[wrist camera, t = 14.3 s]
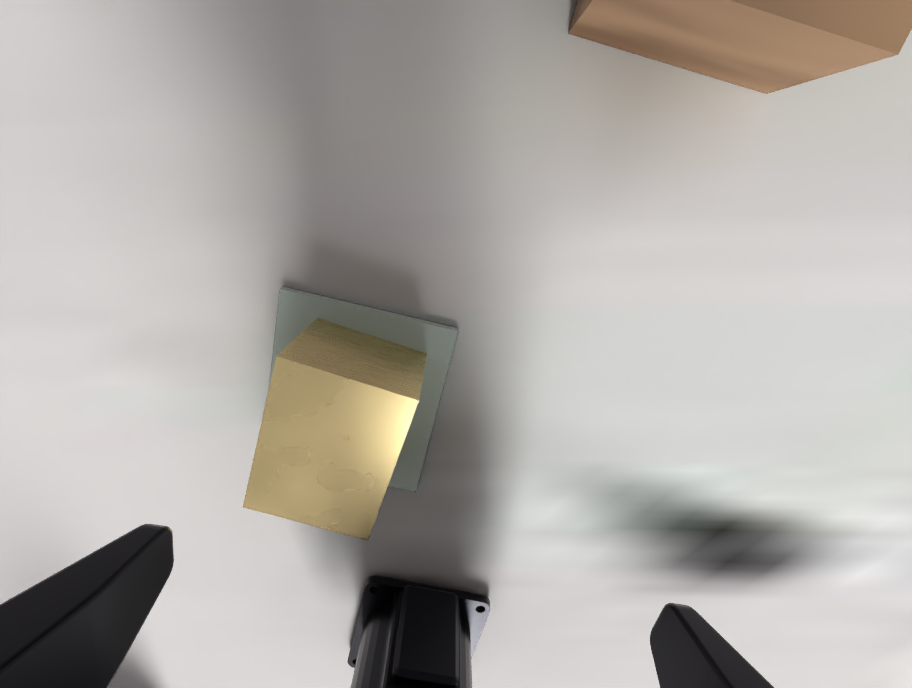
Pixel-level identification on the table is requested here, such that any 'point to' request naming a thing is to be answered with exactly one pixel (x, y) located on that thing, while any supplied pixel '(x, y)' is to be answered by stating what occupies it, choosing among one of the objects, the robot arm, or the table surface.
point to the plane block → (750, 35)
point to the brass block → (334, 427)
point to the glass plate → (397, 328)
